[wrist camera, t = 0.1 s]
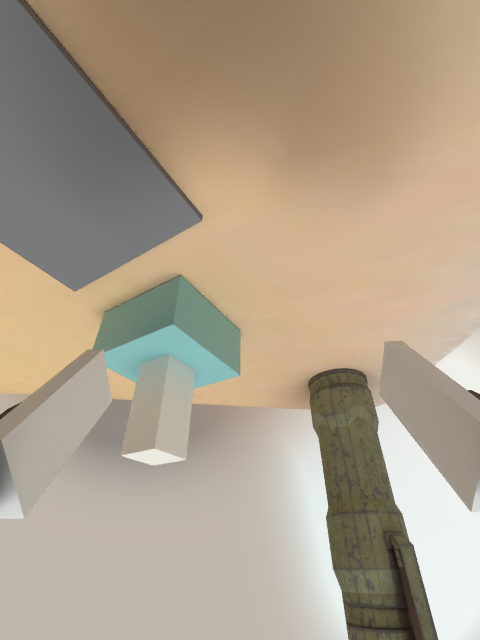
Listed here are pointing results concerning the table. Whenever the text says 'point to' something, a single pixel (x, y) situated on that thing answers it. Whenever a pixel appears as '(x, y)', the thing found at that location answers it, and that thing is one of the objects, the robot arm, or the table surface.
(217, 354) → the cover
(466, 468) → the robot arm
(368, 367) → the table surface
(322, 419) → the olive green tall cylinder
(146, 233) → the mat
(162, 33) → the table surface
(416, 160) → the table surface
